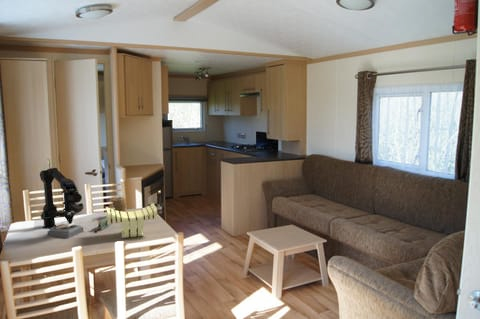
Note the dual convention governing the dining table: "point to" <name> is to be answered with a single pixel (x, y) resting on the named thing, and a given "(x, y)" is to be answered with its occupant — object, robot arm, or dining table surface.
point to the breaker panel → (65, 231)
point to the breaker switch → (65, 225)
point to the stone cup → (120, 205)
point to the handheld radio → (103, 224)
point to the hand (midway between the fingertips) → (70, 223)
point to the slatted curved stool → (132, 220)
